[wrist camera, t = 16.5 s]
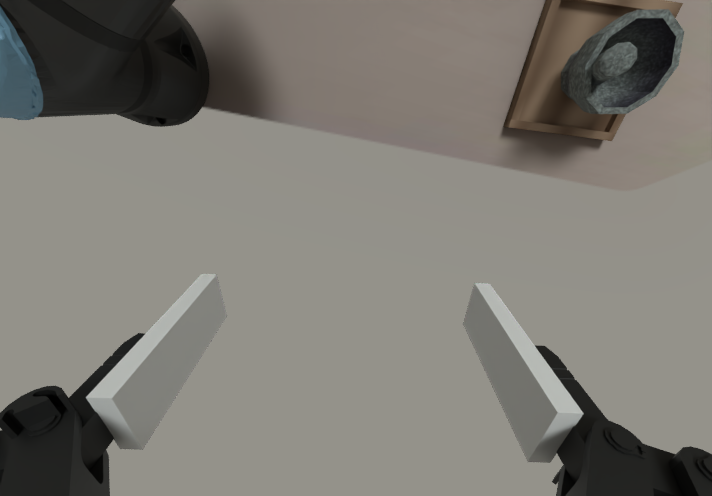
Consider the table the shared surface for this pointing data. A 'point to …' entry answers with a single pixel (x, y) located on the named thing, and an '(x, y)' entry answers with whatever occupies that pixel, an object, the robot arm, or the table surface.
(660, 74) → the mortar and pestle
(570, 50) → the walnut tray
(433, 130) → the table surface
